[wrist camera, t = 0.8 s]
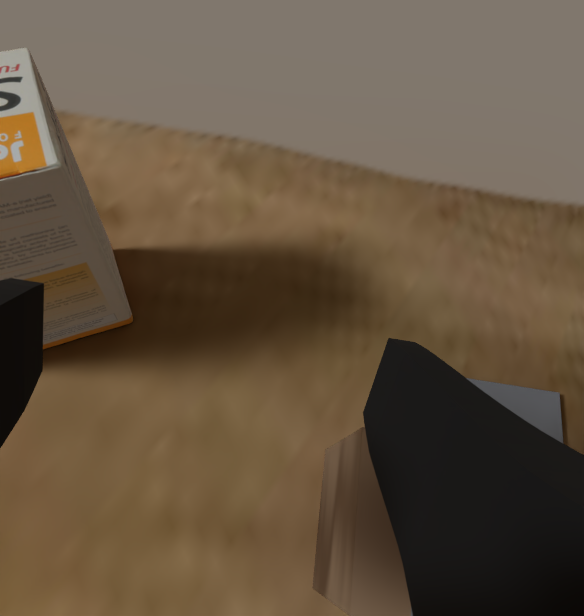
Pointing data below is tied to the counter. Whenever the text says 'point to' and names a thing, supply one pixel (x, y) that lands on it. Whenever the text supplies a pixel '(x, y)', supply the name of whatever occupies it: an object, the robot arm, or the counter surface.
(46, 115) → the supplement box
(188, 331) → the counter surface
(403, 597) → the slab
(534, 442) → the robot arm
